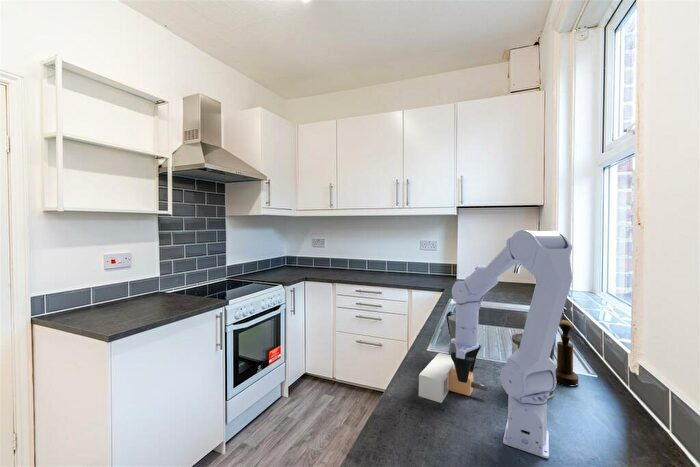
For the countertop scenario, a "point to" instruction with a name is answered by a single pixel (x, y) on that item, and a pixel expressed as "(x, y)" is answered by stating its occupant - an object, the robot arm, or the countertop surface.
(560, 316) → the robot arm
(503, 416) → the countertop surface
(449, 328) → the coffeepot
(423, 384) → the white rectangular block
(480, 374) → the countertop surface
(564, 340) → the wooden pepper mill
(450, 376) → the plug
